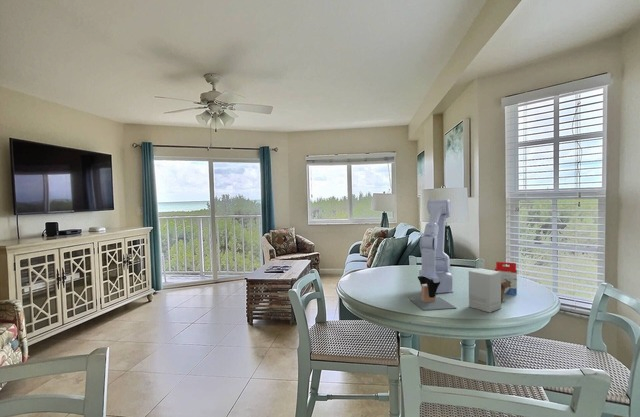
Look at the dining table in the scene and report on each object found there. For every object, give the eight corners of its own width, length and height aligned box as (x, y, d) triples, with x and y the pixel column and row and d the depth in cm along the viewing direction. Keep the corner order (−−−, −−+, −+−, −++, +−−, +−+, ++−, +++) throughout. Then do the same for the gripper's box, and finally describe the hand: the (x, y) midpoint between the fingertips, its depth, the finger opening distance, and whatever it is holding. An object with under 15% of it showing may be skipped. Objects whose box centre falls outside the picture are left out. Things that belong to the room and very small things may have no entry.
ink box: (515, 292, 149) (515, 261, 149) (516, 295, 145) (517, 263, 144) (494, 290, 153) (494, 259, 152) (495, 293, 148) (495, 261, 148)
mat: (439, 297, 142) (439, 297, 142) (456, 308, 128) (456, 307, 128) (409, 299, 140) (409, 298, 140) (423, 310, 127) (423, 309, 127)
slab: (432, 299, 139) (432, 283, 139) (435, 301, 136) (435, 285, 136) (421, 300, 138) (421, 284, 138) (424, 302, 136) (424, 285, 135)
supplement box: (502, 308, 128) (502, 271, 127) (489, 313, 123) (489, 274, 122) (480, 302, 135) (480, 267, 135) (467, 306, 130) (468, 270, 130)
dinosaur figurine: (497, 296, 143) (498, 276, 143) (511, 299, 138) (511, 278, 138) (480, 301, 136) (480, 280, 136) (494, 305, 131) (494, 283, 131)
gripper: (412, 260, 143) (412, 290, 144) (427, 267, 129) (427, 300, 130) (427, 260, 144) (427, 289, 145) (443, 267, 130) (443, 299, 130)
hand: (428, 295), depth 137 cm, fingers open, 6 cm apart
